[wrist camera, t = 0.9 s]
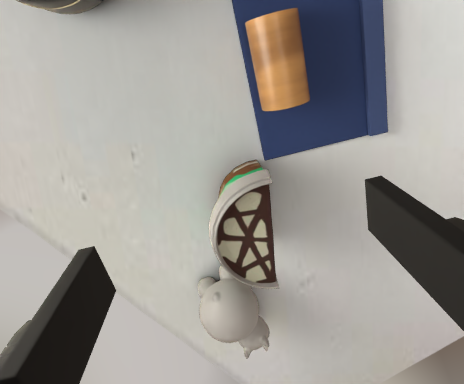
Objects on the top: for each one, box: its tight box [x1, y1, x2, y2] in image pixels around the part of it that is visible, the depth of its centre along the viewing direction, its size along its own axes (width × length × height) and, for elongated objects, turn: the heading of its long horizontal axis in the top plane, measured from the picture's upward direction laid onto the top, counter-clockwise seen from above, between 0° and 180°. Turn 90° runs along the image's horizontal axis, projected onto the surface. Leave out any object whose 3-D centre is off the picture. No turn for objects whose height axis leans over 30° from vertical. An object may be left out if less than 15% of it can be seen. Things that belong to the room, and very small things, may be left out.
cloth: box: [232, 0, 388, 160], centre depth 31 cm, size 22×14×1 cm, turn 13°
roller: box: [245, 8, 310, 111], centre depth 30 cm, size 8×5×5 cm, turn 13°
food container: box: [209, 160, 279, 289], centre depth 33 cm, size 12×6×10 cm, turn 6°
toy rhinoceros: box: [198, 265, 270, 359], centre depth 39 cm, size 7×12×8 cm, turn 35°
